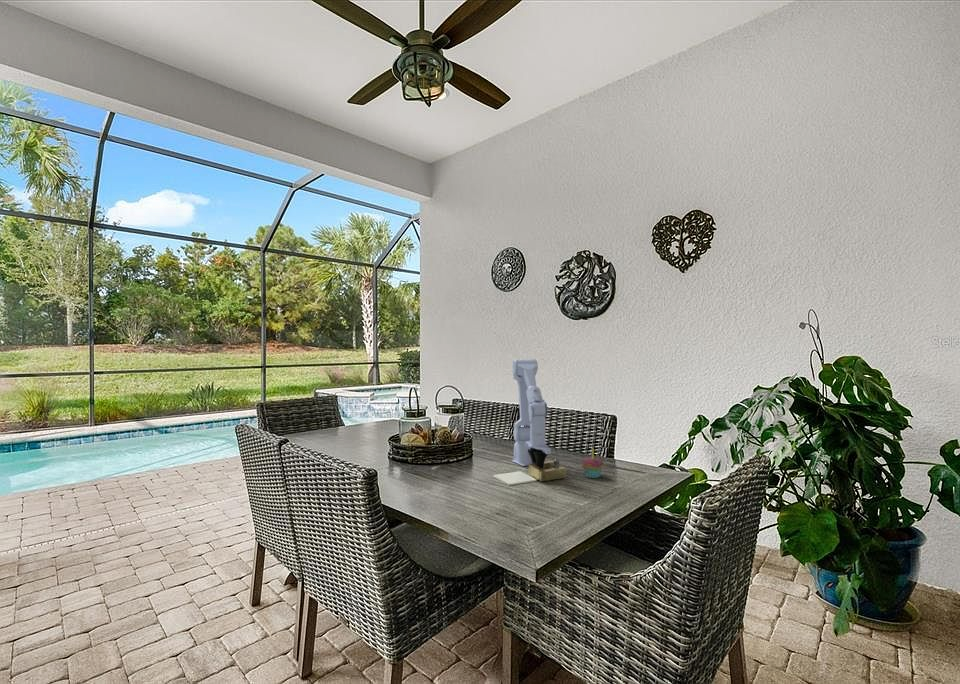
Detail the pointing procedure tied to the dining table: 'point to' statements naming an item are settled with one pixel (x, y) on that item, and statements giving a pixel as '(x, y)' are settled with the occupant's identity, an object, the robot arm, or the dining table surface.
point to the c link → (546, 471)
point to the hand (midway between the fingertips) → (537, 468)
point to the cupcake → (592, 466)
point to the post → (556, 463)
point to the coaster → (514, 478)
